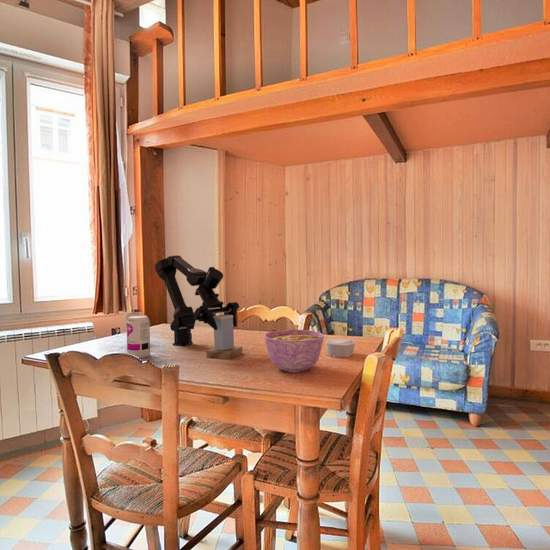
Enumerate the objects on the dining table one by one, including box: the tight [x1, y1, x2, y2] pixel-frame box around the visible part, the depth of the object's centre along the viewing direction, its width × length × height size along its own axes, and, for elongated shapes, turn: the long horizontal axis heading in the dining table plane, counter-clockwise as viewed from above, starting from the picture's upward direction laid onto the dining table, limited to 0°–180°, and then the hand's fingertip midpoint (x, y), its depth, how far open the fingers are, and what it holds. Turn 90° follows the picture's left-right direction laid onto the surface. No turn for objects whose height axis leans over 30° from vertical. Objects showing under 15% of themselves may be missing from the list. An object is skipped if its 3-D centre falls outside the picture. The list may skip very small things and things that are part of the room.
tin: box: [213, 313, 235, 350], centre depth 169 cm, size 5×5×12 cm
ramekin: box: [324, 338, 356, 358], centre depth 169 cm, size 11×11×5 cm
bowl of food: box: [263, 329, 325, 373], centre depth 149 cm, size 20×20×12 cm
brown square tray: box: [205, 346, 243, 360], centre depth 170 cm, size 10×10×3 cm
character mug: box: [124, 311, 143, 329], centre depth 192 cm, size 11×7×13 cm, turn 44°
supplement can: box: [126, 314, 151, 359], centre depth 169 cm, size 8×8×15 cm
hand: (226, 328), depth 168 cm, fingers open, 9 cm apart
